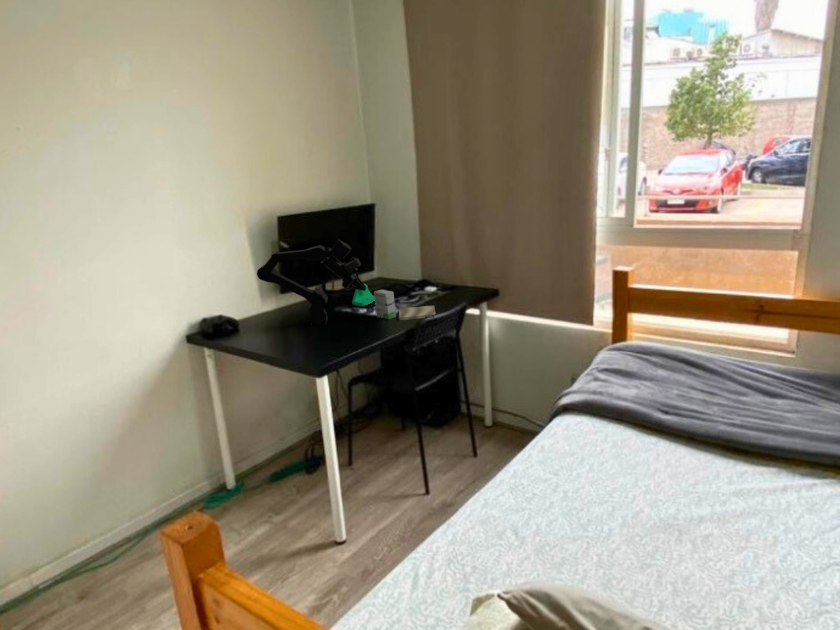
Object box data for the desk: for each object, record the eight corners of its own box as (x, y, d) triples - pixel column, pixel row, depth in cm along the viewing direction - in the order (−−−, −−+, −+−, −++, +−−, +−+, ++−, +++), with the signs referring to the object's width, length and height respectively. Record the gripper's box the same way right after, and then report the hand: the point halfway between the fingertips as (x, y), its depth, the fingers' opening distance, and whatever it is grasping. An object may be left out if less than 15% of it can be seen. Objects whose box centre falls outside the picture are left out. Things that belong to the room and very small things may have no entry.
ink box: (397, 316, 249) (394, 291, 246) (388, 319, 246) (385, 293, 243) (384, 313, 255) (381, 288, 252) (376, 316, 252) (373, 291, 249)
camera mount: (362, 308, 268) (360, 287, 265) (352, 306, 273) (350, 286, 270) (381, 302, 276) (379, 281, 273) (371, 300, 281) (368, 280, 278)
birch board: (399, 320, 244) (398, 317, 243) (399, 311, 257) (399, 308, 257) (435, 316, 244) (435, 314, 243) (434, 307, 257) (434, 305, 257)
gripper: (346, 256, 233) (375, 280, 236) (350, 249, 251) (377, 270, 254) (329, 277, 235) (359, 300, 238) (335, 267, 253) (362, 289, 256)
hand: (365, 289), depth 247 cm, fingers open, 3 cm apart
